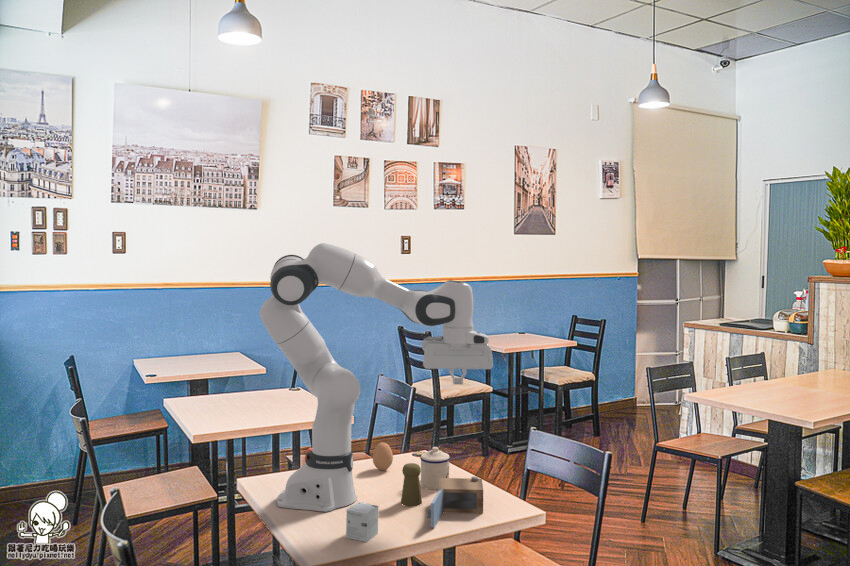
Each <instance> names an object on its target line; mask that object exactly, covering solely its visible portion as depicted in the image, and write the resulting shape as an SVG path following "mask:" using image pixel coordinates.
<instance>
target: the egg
mask: <svg viewBox="0 0 850 566" xmlns="http://www.w3.org/2000/svg"><path fill="white" fill-rule="evenodd" d="M393 454H394V453H393V451H392V449H391V447H390V445H389V444H388V443H386V442H382V441H381V442H379V443H378V444H376V446H375V447H374V450H373V453H372V463H373V465H374V466H375V468H376V469H377V470H379V471H381V472H382V471H383V472H384V471H387V470H388V469H389V468H390V467H391V466H392V464H393V461H394V460H393V459H394V455H393Z"/></svg>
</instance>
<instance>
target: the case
mask: <svg viewBox="0 0 850 566" xmlns="http://www.w3.org/2000/svg"><path fill="white" fill-rule="evenodd" d="M439 489H443V512H444V513H446V514H447V513H454V514H455V513H456V514H484V485H483V480H482V478H479V477H478V476H471V477H470V478H466V477H465V478H460V477H459V478H458V477H457V478H455V477H454V478H453V477H452V478H451V477H449V478H440V485H439ZM444 513H443V514H444Z"/></svg>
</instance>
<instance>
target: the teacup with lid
mask: <svg viewBox="0 0 850 566" xmlns="http://www.w3.org/2000/svg"><path fill="white" fill-rule="evenodd" d="M419 458H420V468H421V472H420V487H422V486H423V487H422V488H424V489H426V488H427V490H431V489H439V485H440V478H450V459H451V456H450V455H449V454H448V453H446V452H444V451H442V450H440V449H439V447H438V446H433V447H432V448H431V450H430V449H429V450H428V451H427V452H424V453H422V454H421V455H420V457H419Z"/></svg>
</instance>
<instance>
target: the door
mask: <svg viewBox="0 0 850 566" xmlns="http://www.w3.org/2000/svg"><path fill="white" fill-rule="evenodd" d="M426 511H427V519H430V528H431V529H434V528H435V527H436V525H437V523H438V522H439V520H440V518H441V517H442V515H443V514H444V513H443V489H439V490H438V491H437V494H436V495H435V496H434V498H433V499H432V500H431V503H430V508H428V509H427V510H426Z"/></svg>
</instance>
